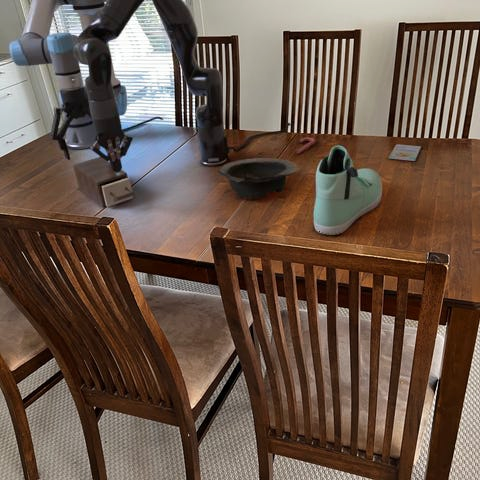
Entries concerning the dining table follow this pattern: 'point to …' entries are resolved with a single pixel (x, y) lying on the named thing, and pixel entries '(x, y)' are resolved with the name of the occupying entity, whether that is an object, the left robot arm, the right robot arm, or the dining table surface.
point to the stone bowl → (257, 176)
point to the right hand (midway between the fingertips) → (117, 171)
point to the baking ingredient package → (405, 152)
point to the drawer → (117, 191)
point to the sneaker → (343, 192)
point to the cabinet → (95, 177)
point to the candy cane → (306, 144)
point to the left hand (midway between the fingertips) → (87, 153)
